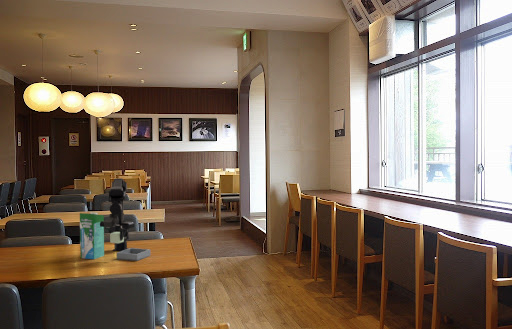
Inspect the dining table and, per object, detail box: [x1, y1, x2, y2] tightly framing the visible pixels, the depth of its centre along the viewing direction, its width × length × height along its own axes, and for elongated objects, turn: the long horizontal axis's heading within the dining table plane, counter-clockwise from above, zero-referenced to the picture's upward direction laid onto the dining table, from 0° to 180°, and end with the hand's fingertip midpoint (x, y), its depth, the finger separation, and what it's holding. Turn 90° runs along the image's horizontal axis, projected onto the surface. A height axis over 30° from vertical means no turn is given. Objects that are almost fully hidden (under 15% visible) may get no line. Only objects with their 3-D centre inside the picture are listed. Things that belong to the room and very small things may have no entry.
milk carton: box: [79, 211, 105, 260], centre depth 258 cm, size 9×9×25 cm
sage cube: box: [109, 232, 124, 244], centre depth 251 cm, size 5×5×5 cm
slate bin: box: [116, 247, 151, 262], centre depth 257 cm, size 13×13×4 cm
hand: (117, 240), depth 251 cm, fingers closed on sage cube, 5 cm apart
